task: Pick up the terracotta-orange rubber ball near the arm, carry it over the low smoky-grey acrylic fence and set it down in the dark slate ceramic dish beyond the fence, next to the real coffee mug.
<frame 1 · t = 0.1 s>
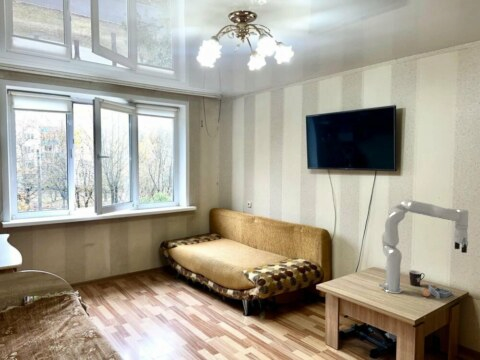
hand: (460, 250, 243), 31 cm above the table, fingers open, 9 cm apart
dish: (441, 294, 245), on the table
ball: (426, 292, 240), point 2 cm above the table
coffee mug: (417, 285, 262), on the table
fence: (433, 294, 243), on the table
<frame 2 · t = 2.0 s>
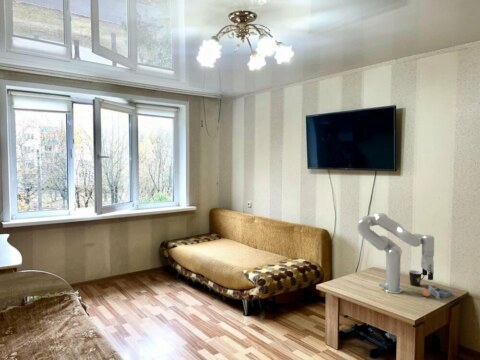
hand: (427, 277, 239), 13 cm above the table, fingers open, 9 cm apart
nothing on the table moved.
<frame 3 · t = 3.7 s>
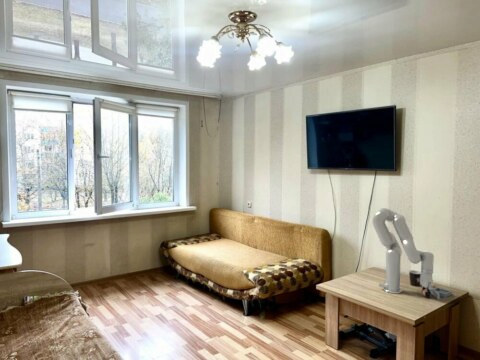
hand: (426, 295, 240), 1 cm above the table, fingers closed on ball, 4 cm apart
ball: (426, 292, 240), point 2 cm above the table, touching gripper
everything else where it was.
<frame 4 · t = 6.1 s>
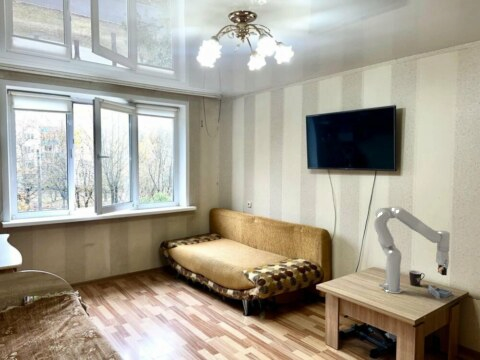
hand: (442, 273, 244), 15 cm above the table, fingers closed on ball, 4 cm apart
ball: (442, 270, 244), point 17 cm above the table, touching gripper
everything else where it was.
when the fingers open (3 cm above the table, at t = 8.6 s): ball drops 1 cm, resting on dish.
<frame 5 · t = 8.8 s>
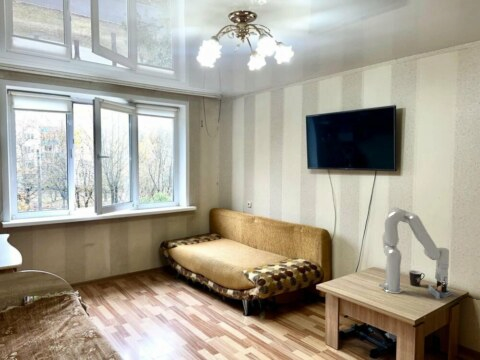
hand: (441, 289, 244), 3 cm above the table, fingers open, 7 cm apart
ball: (441, 289, 244), point 3 cm above the table, touching dish
everything else where it was.
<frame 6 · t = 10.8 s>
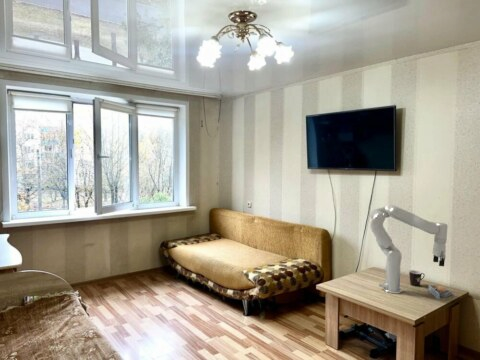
hand: (438, 264, 245), 21 cm above the table, fingers open, 9 cm apart
nothing on the table moved.
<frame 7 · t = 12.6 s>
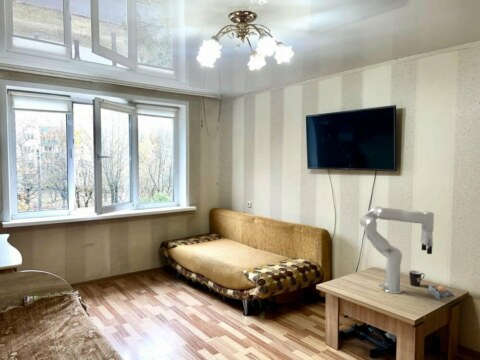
hand: (426, 252, 250), 28 cm above the table, fingers open, 9 cm apart
nothing on the table moved.
at the end: ball inside the target area on the dish (0.1 cm from its centre), point 3.3 cm above the dish's base; the gripper is holding nothing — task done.
